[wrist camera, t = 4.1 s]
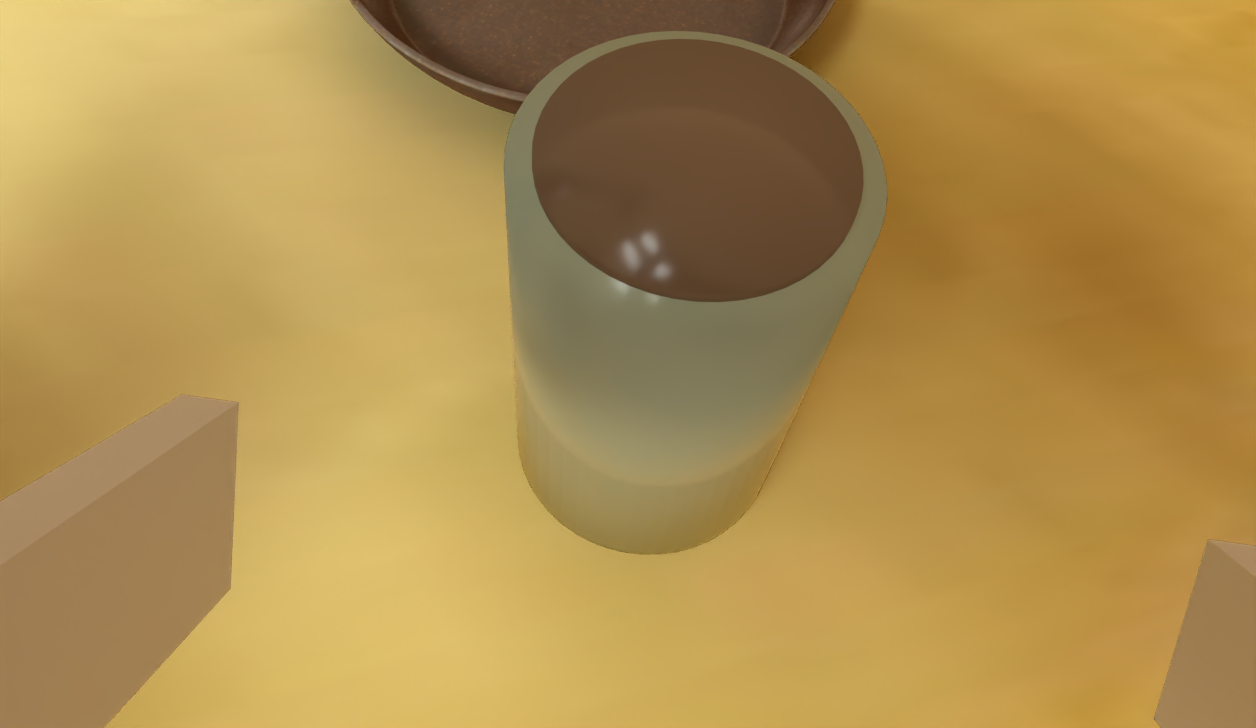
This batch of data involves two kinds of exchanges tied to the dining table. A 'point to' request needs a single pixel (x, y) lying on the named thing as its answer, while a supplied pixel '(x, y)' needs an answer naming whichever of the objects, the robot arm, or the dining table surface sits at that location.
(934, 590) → the dining table surface
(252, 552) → the dining table surface
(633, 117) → the pale green cup
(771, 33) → the plant saucer
